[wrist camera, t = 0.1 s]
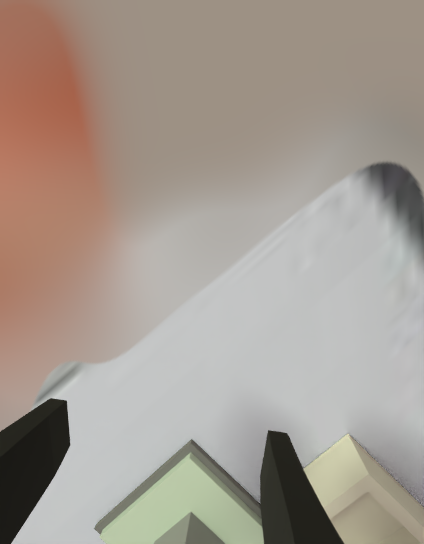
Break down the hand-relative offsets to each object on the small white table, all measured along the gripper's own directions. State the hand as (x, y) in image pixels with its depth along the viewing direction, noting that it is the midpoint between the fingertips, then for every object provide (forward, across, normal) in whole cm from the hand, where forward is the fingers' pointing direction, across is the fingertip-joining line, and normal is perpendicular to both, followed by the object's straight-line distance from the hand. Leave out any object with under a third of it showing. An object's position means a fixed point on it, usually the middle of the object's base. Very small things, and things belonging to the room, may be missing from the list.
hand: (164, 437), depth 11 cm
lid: (+8, -1, +17) cm, 19 cm away
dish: (+8, -11, +13) cm, 19 cm away
